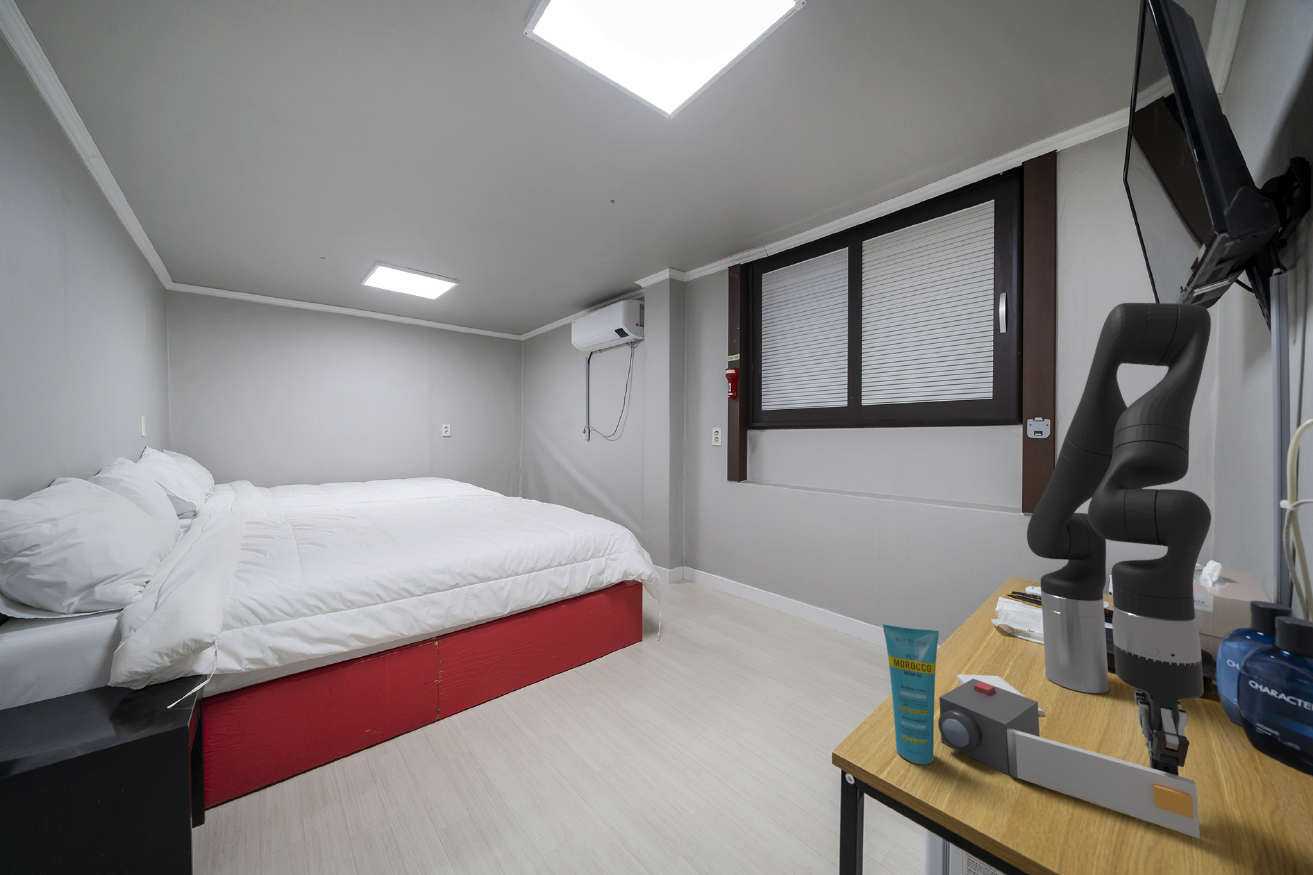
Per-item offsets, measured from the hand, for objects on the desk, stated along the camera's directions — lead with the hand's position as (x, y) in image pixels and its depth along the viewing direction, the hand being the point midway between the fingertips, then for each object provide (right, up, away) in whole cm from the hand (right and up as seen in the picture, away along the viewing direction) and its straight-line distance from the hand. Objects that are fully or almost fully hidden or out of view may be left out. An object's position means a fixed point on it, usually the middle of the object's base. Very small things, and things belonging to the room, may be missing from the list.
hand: (1165, 786), depth 57 cm
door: (-7, -3, +2) cm, 8 cm away
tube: (-24, -5, +12) cm, 28 cm away
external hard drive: (0, -6, +29) cm, 29 cm away
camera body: (-13, -4, +14) cm, 19 cm away
